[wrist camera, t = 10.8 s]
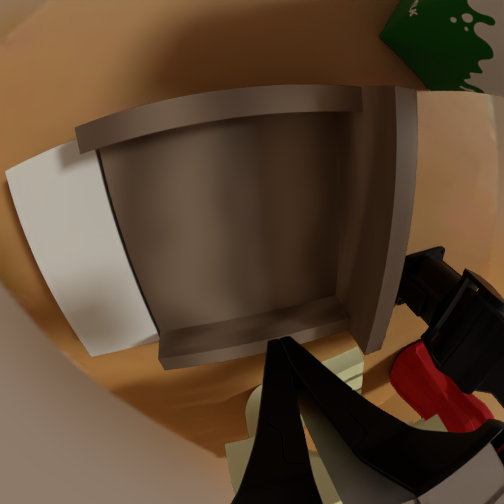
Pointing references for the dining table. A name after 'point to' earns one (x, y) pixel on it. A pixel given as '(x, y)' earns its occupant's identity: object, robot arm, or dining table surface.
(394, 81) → the dining table surface
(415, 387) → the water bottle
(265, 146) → the brown open box
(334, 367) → the slatted curved stool
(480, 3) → the milk carton
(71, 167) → the panel
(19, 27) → the dining table surface
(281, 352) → the robot arm
